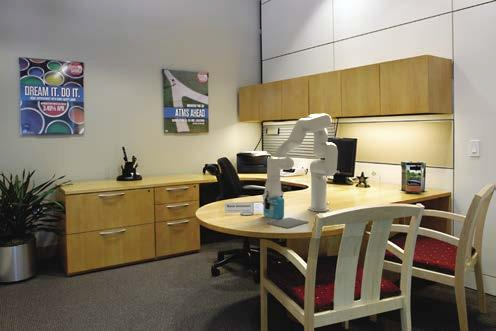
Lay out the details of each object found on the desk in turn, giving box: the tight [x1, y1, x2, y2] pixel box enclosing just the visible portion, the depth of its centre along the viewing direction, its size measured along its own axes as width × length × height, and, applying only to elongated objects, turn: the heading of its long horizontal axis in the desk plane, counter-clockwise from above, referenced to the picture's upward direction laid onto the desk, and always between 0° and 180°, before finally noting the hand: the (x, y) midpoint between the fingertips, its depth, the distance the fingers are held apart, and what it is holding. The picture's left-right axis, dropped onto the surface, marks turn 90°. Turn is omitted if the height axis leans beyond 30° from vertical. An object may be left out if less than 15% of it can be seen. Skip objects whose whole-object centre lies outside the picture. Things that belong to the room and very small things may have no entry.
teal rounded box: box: [262, 197, 285, 220], centre depth 228 cm, size 12×4×12 cm, turn 47°
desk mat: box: [267, 217, 309, 229], centre depth 214 cm, size 18×14×1 cm
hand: (273, 208), depth 227 cm, fingers open, 9 cm apart
